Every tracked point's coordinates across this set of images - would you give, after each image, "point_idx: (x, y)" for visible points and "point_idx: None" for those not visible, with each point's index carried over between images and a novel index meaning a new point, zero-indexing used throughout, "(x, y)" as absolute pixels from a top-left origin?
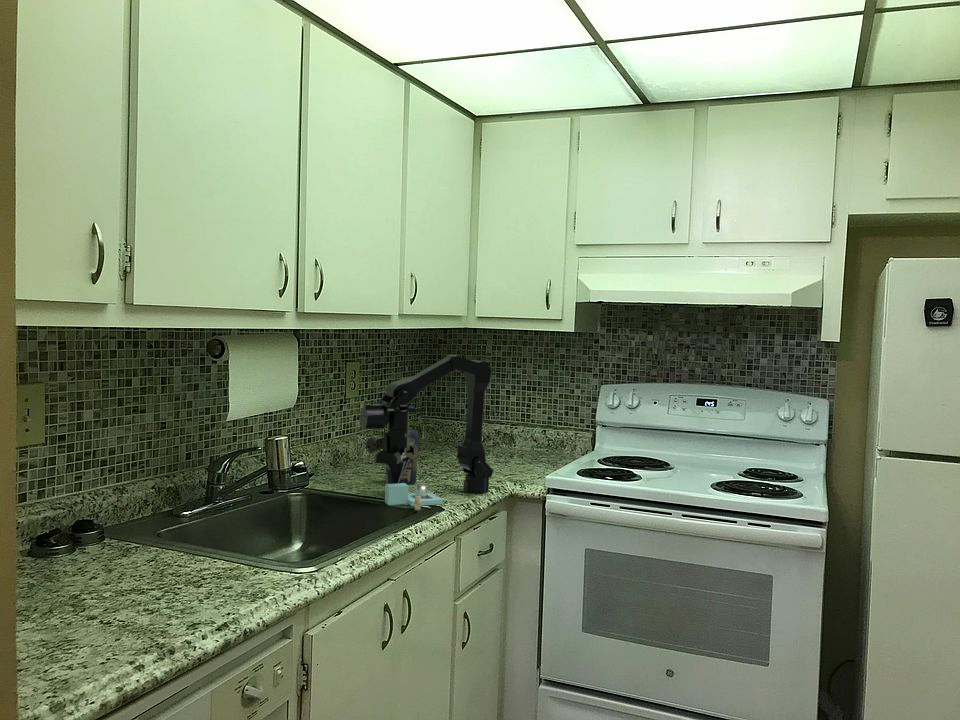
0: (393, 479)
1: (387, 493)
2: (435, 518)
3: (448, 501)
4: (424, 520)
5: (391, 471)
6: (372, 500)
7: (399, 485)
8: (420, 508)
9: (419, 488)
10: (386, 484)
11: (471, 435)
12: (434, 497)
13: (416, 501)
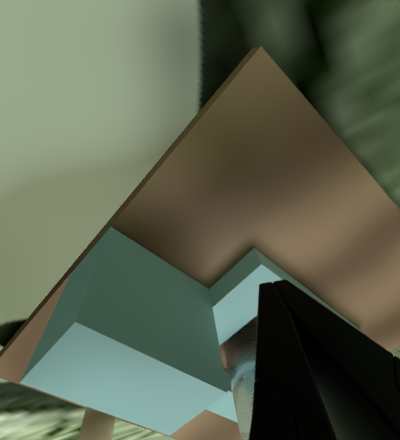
0: (257, 321)
1: (66, 302)
2: None
3: None
4: (49, 414)
5: (253, 414)
6: (236, 38)
7: (123, 406)
8: None
9: (238, 421)
10: (73, 331)
11: None
12: None
13: (81, 433)
